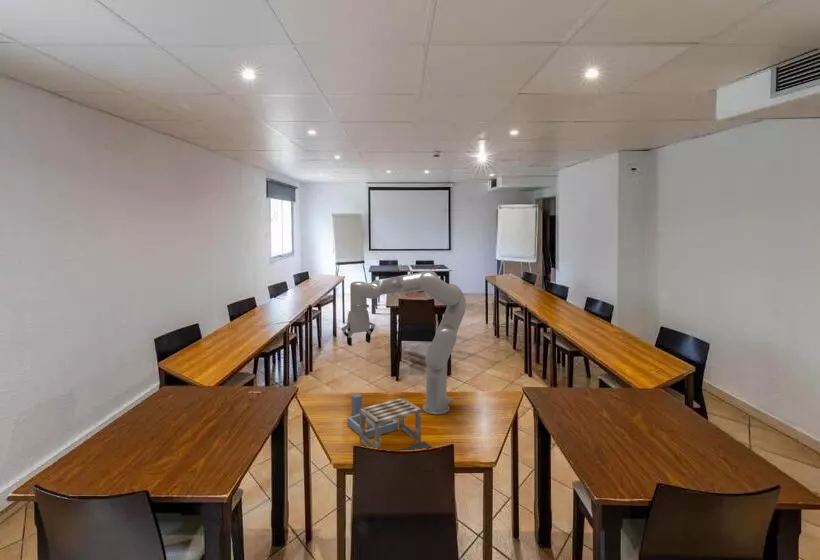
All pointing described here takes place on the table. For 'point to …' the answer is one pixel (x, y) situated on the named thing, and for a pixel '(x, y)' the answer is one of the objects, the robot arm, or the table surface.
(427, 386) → the robot arm
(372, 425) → the die
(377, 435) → the tunnel
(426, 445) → the pit mat
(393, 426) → the tray with upright post
